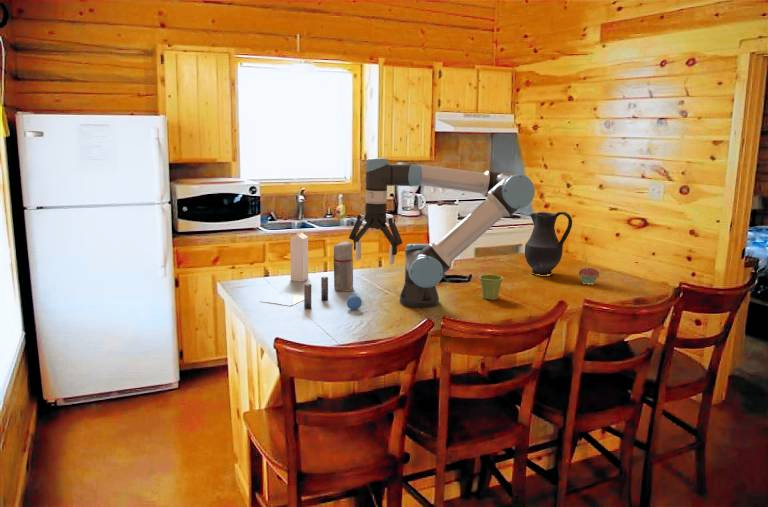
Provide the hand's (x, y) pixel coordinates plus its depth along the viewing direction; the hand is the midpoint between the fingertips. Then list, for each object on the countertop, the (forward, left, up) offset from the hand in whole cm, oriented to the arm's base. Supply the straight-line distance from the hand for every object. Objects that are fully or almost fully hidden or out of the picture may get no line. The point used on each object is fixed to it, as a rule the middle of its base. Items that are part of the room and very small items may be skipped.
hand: (374, 261), depth 220 cm
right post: (+24, -6, -19) cm, 31 cm away
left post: (+24, +6, -19) cm, 31 cm away
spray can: (+25, -24, -19) cm, 40 cm away
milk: (+50, -30, -19) cm, 61 cm away
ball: (+8, 0, -16) cm, 18 cm away
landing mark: (+38, 0, -19) cm, 43 cm away
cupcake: (-66, -82, -19) cm, 107 cm away
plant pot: (-33, -39, -19) cm, 55 cm away
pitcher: (-46, -91, -19) cm, 104 cm away
